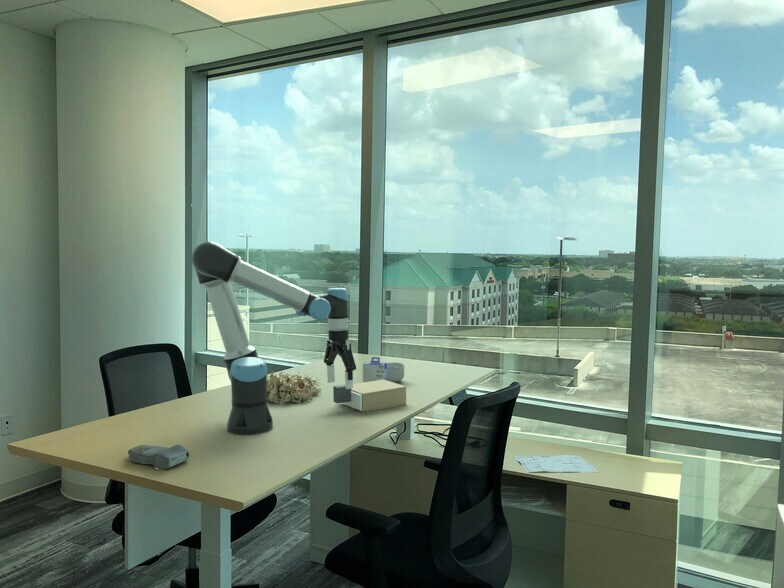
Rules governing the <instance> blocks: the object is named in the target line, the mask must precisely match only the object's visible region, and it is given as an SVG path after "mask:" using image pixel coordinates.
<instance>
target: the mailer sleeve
mask: <svg viewBox="0 0 784 588" xmlns="http://www.w3.org/2000/svg"><path fill="white" fill-rule="evenodd" d="M351 391H353V392H356V393H358V394H361V395H362V410H361V411H367V412H370V411H369V410H372V411H377V410H376V409H378V410H382V408H383V409H387V408H388V409H389V408H394V407H398V406H404V405H407V386H405V385H402V384H399V383H393V382H390V381H387V380H377V381H370V382H363V381H362V382H357V383H353V388H351ZM361 411H360V412H361Z"/></svg>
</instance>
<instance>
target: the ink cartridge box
mask: <svg viewBox="0 0 784 588" xmlns="http://www.w3.org/2000/svg"><path fill="white" fill-rule="evenodd" d="M380 359H381V358H380V357H378V356H377V357H376V356H375V357H374V356H371V359H370V362H366V361H365V362H364V363H363V364H362V383H363V382H370V381H377V380H387V363H388V362H380Z"/></svg>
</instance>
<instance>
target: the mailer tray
mask: <svg viewBox="0 0 784 588" xmlns="http://www.w3.org/2000/svg"><path fill="white" fill-rule="evenodd" d="M332 388H333V389H332V391H333V392H332V393H333V398H332V399H333V403H335V404H341V403H343V404H342V405H344V404H345V405H344V406H346V405H348V406H347V407H349V406H350V407H349V408H351V407H353V408H352V409H354V408H355V409H354V410H356V409H358V410H357V411H359V410H362V395H361V394H358V393H356V392H353V391H351V389H346V383H345V384H340V385H333V387H332Z"/></svg>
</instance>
